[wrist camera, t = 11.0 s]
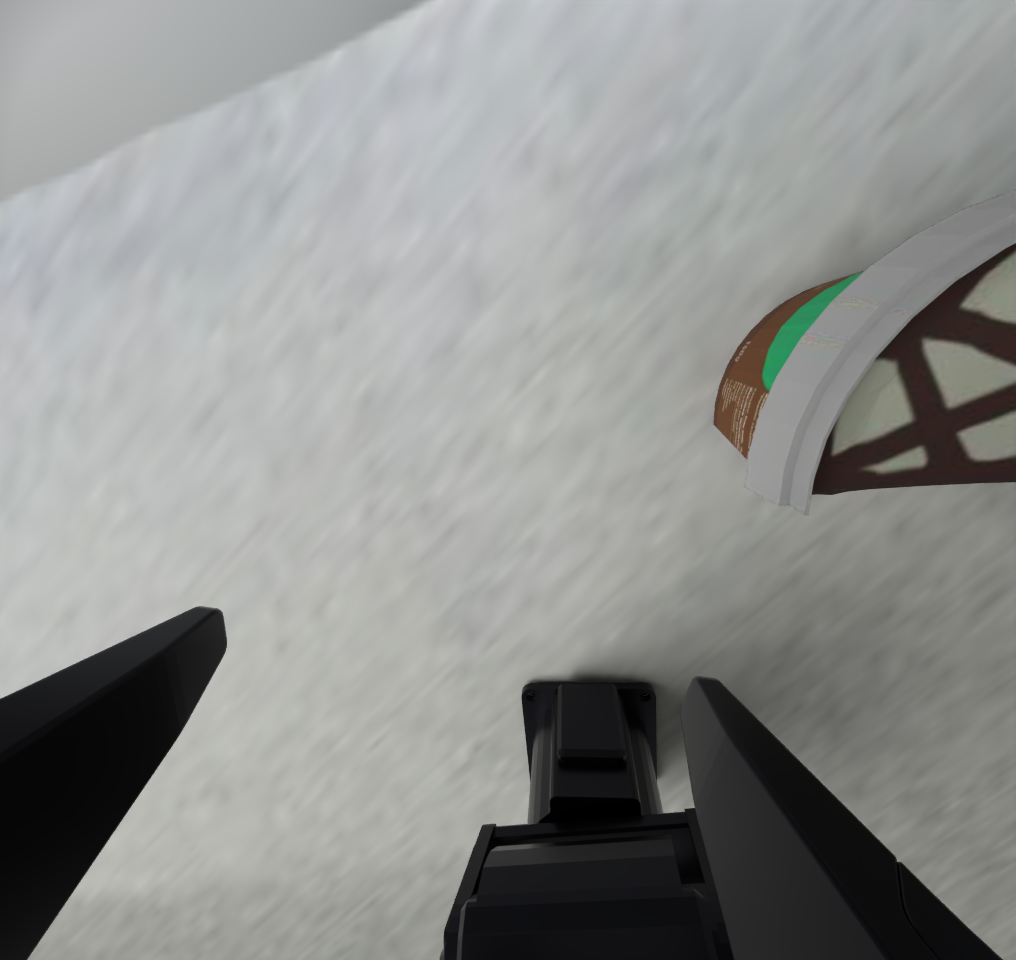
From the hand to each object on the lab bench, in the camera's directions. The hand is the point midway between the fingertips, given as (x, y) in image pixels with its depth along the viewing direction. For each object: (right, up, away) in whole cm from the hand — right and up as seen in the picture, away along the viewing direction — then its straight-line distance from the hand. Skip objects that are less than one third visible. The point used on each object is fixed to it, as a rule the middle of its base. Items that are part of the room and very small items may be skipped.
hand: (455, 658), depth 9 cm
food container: (+14, +9, +9) cm, 19 cm away
